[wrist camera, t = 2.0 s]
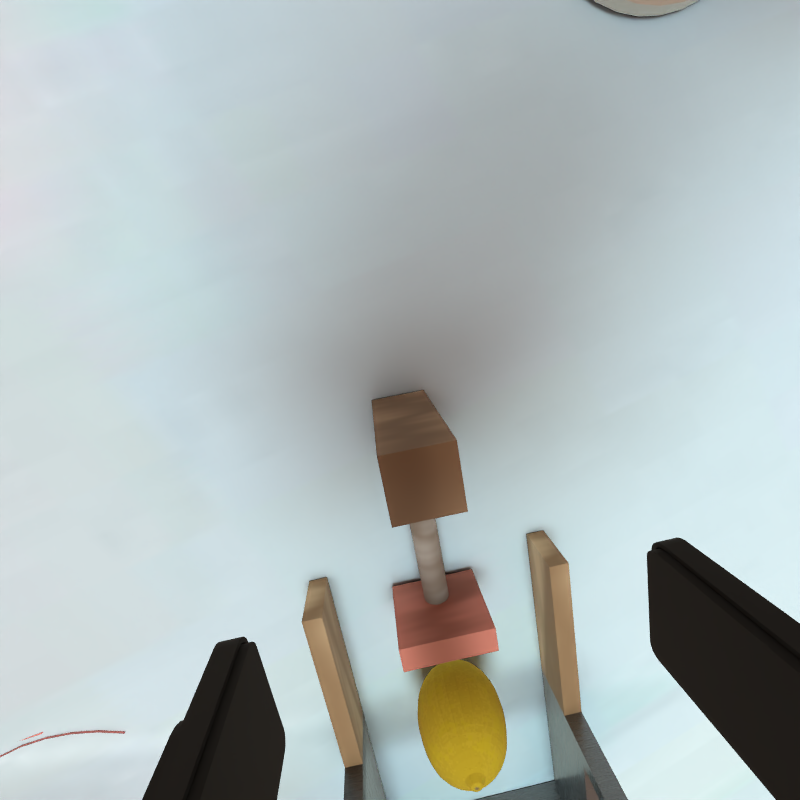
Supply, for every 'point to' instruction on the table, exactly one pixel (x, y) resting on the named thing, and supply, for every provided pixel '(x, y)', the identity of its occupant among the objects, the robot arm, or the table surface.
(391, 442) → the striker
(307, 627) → the lane
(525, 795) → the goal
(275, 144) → the table surface
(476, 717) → the lemon
